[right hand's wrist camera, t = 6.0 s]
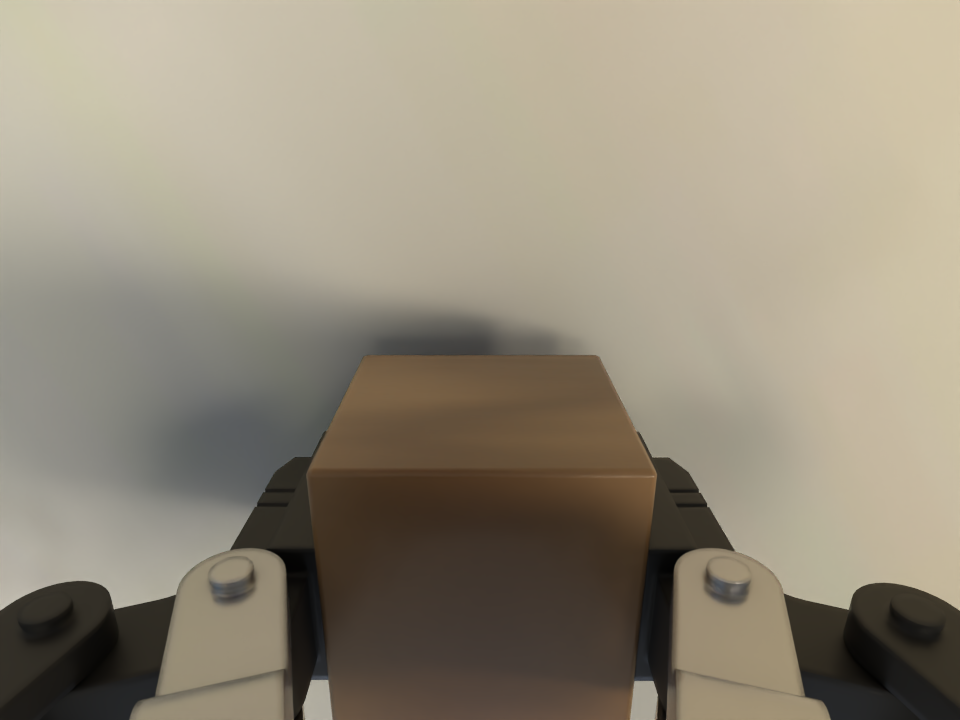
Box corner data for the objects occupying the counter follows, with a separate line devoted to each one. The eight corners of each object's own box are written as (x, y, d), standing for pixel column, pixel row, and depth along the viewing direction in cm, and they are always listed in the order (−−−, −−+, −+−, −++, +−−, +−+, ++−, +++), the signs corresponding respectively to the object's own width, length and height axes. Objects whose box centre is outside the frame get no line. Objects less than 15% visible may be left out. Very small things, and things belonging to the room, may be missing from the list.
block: (600, 353, 12) (659, 471, 8) (585, 559, 13) (629, 743, 9) (363, 353, 12) (304, 471, 8) (376, 558, 13) (333, 743, 9)
